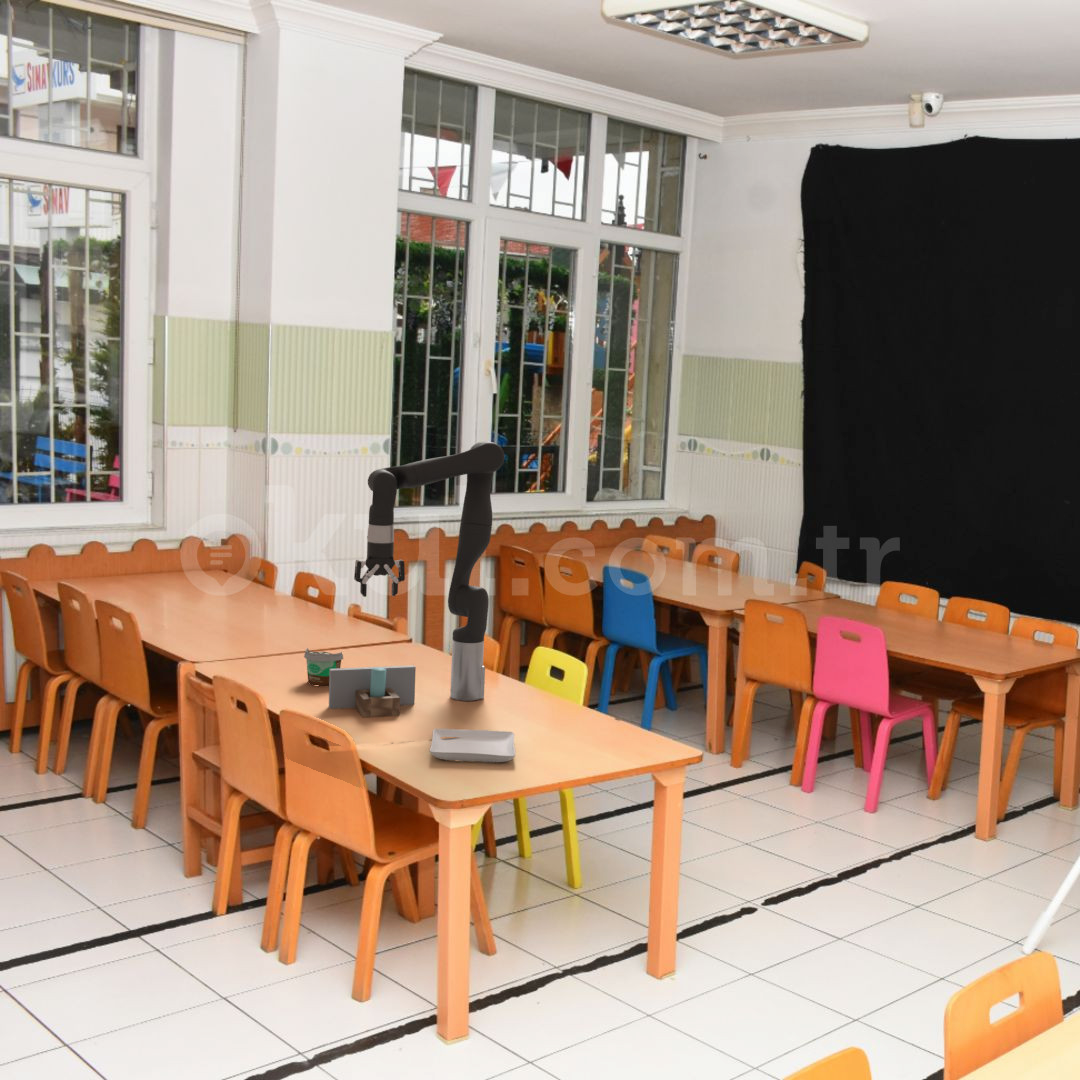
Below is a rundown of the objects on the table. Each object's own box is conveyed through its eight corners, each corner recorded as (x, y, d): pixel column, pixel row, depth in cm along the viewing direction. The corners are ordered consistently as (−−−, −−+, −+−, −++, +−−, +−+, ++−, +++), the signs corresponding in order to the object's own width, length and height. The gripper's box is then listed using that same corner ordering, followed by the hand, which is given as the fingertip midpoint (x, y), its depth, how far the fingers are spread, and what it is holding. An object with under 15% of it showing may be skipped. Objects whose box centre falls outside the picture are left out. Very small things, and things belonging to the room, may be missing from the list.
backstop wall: (412, 706, 370) (413, 665, 369) (414, 708, 369) (415, 666, 367) (328, 710, 362) (329, 668, 360) (330, 712, 360) (331, 670, 358)
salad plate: (513, 742, 342) (514, 729, 341) (515, 768, 321) (515, 754, 320) (432, 739, 341) (433, 727, 340) (428, 765, 320) (429, 751, 319)
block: (390, 705, 366) (391, 688, 365) (399, 715, 356) (399, 697, 356) (355, 707, 362) (355, 690, 362) (363, 717, 353) (363, 699, 352)
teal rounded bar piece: (381, 710, 362) (384, 667, 360) (384, 713, 358) (387, 671, 357) (367, 710, 360) (370, 667, 359) (370, 714, 357) (373, 671, 355)
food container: (296, 684, 389) (296, 651, 387) (305, 680, 394) (306, 647, 393) (333, 689, 385) (334, 656, 384) (342, 684, 391) (343, 652, 389)
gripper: (358, 542, 365) (357, 599, 367) (408, 541, 370) (406, 598, 372) (353, 538, 372) (351, 594, 374) (401, 538, 377) (400, 593, 379)
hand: (379, 596), depth 373 cm, fingers open, 8 cm apart
